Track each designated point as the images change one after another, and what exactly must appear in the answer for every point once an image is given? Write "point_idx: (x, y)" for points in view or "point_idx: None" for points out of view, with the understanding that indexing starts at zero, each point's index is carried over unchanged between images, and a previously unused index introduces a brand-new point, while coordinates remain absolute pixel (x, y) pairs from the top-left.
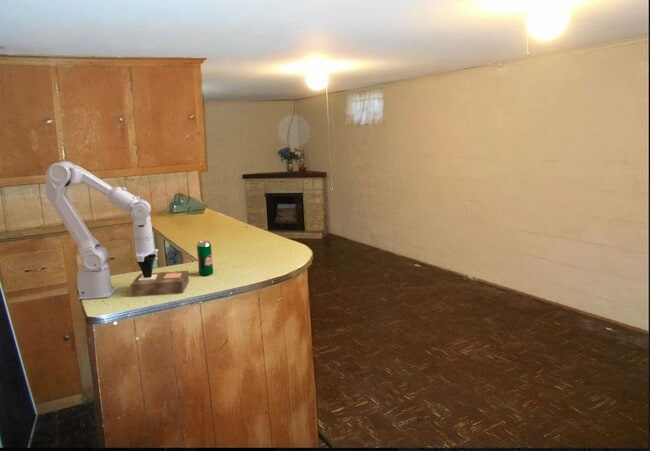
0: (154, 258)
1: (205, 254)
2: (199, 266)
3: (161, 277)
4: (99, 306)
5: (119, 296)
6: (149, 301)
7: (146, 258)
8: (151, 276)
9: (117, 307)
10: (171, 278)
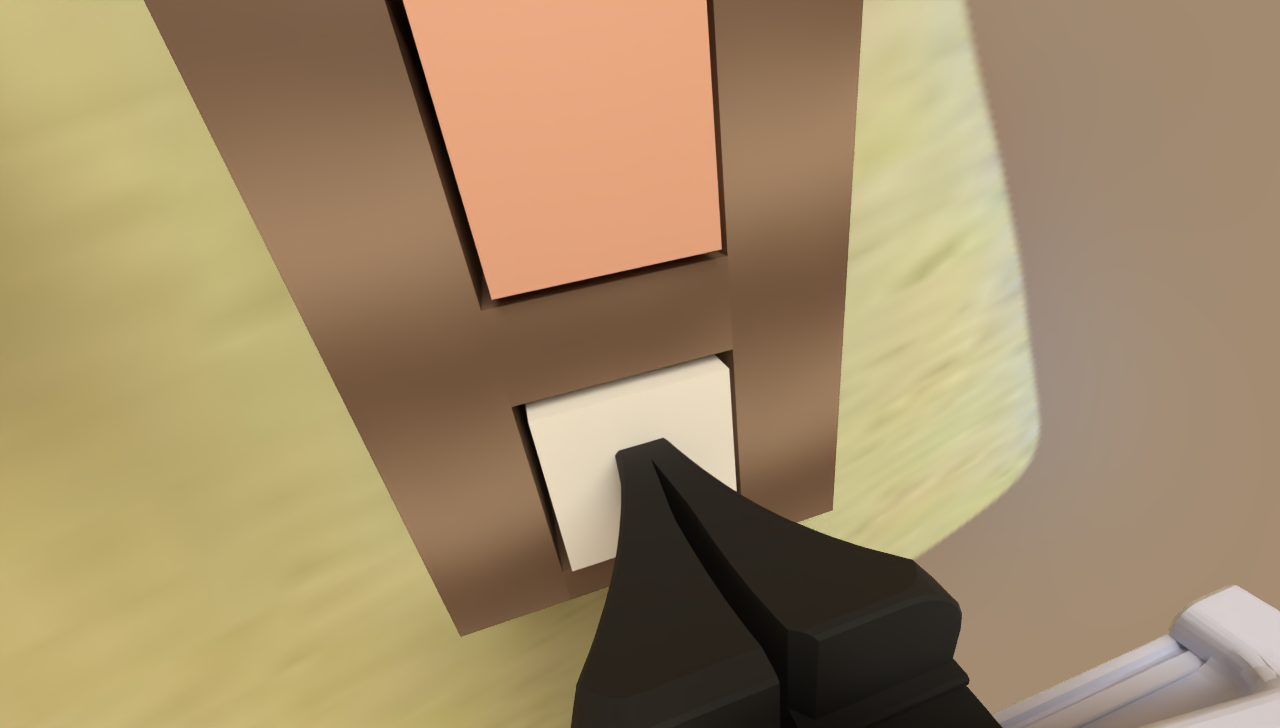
0: (643, 641)
1: None
2: None
3: (621, 314)
4: (906, 524)
5: None
6: (915, 244)
7: (952, 687)
8: (626, 446)
9: (958, 416)
10: (709, 117)
